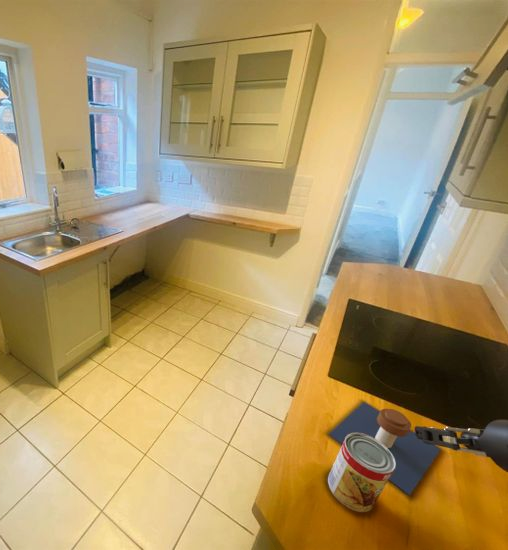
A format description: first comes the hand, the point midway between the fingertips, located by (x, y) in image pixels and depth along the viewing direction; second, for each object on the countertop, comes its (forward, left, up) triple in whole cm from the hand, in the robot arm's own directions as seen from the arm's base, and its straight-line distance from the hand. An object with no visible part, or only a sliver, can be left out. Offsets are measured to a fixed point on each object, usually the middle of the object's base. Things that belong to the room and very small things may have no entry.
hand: (442, 434), depth 56 cm
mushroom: (-6, -7, -15) cm, 17 cm away
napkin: (-6, -7, -15) cm, 18 cm away
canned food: (+12, -6, -15) cm, 20 cm away
